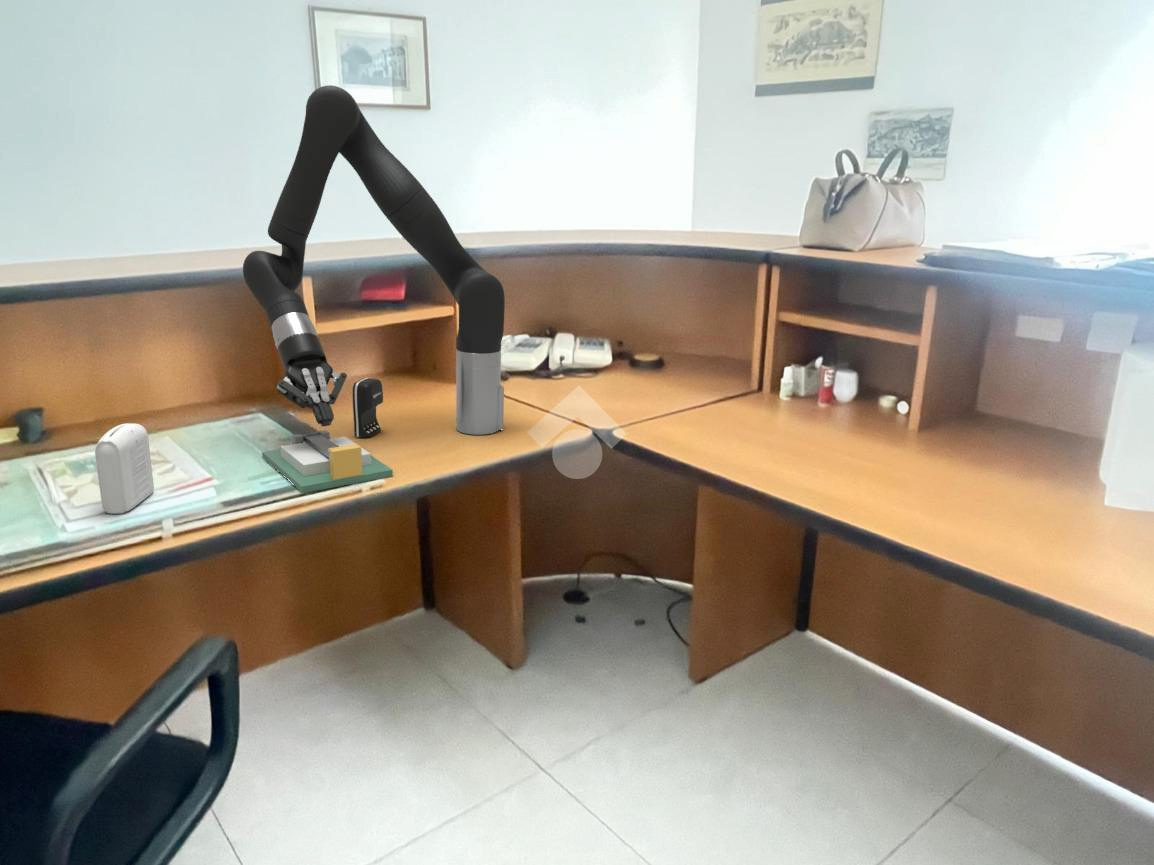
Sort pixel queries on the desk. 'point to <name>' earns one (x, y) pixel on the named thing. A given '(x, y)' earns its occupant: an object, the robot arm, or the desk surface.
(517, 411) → the desk surface
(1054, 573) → the desk surface
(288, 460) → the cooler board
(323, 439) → the gray flat bar
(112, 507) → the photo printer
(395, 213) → the robot arm
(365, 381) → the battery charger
